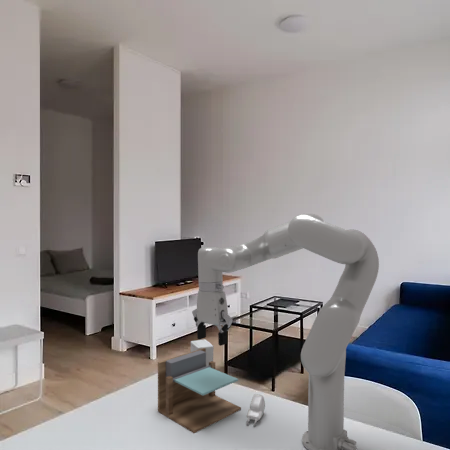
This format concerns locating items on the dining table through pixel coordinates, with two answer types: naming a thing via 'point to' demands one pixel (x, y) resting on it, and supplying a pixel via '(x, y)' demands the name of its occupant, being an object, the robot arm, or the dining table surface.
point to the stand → (190, 402)
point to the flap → (197, 373)
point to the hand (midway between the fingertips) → (212, 341)
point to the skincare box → (200, 345)
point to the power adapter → (256, 408)
